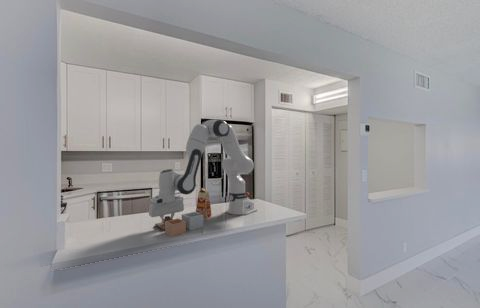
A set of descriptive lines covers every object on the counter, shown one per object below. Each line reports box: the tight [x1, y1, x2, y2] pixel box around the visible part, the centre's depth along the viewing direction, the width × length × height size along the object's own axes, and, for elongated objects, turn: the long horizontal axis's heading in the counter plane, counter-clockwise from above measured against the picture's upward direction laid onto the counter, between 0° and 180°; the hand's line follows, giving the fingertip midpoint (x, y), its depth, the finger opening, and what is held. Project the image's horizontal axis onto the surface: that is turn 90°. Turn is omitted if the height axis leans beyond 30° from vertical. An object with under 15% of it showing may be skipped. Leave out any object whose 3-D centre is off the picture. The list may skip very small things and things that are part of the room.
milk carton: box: [195, 187, 213, 221], centre depth 155 cm, size 9×9×20 cm
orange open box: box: [164, 218, 187, 237], centre depth 128 cm, size 8×8×6 cm
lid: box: [154, 215, 171, 229], centre depth 137 cm, size 10×10×5 cm
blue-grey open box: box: [181, 211, 204, 231], centre depth 137 cm, size 9×9×7 cm
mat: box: [153, 224, 165, 232], centre depth 137 cm, size 11×11×1 cm
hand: (167, 221), depth 137 cm, fingers closed on lid, 3 cm apart
